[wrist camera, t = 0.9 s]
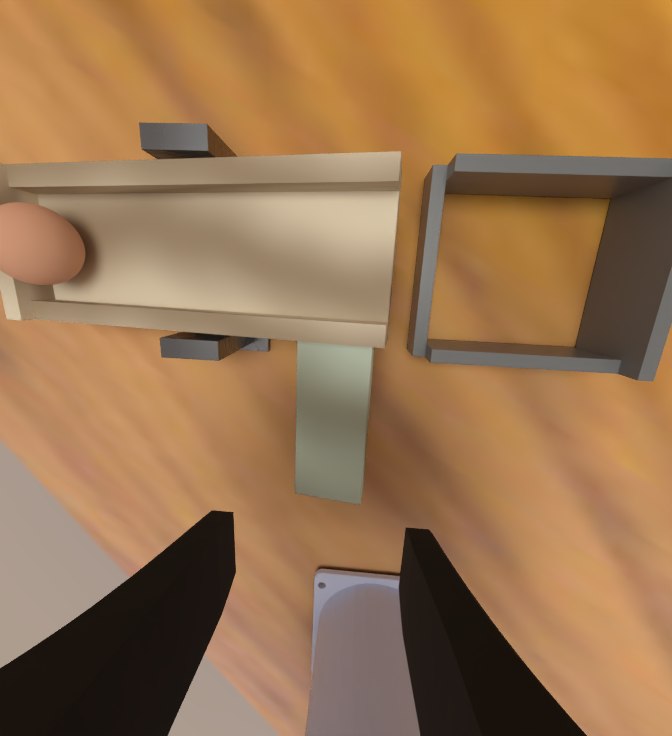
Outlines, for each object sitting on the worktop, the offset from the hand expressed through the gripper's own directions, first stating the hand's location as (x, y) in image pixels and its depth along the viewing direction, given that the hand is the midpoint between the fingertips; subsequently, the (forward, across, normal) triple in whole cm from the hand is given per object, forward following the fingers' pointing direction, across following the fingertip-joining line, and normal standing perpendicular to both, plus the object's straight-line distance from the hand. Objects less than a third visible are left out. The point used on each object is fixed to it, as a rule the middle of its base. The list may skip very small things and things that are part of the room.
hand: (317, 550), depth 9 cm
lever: (+7, +6, -4) cm, 10 cm away
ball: (+5, +12, -8) cm, 15 cm away
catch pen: (+10, -8, -8) cm, 15 cm away
